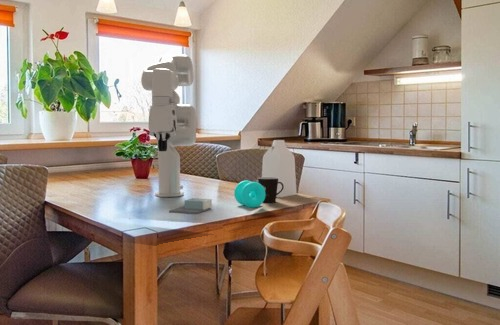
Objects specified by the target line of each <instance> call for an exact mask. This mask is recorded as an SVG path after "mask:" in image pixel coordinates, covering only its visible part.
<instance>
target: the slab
mask: <svg viewBox="0 0 500 325" xmlns="http://www.w3.org/2000/svg"><path fill="white" fill-rule="evenodd" d="M184 206H185V209H202V210H205V209H208V208H213V207H212V206H213V202H212V198H194V197H193V198H188V199H185V200H184Z"/></svg>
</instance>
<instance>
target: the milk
mask: <svg viewBox="0 0 500 325" xmlns="http://www.w3.org/2000/svg"><path fill="white" fill-rule="evenodd" d="M295 161H296V159H295V155H294V153H292V151H291V150H290V149H289V148H288V147H287V146H286V141H285V139H274V140H272V144H271V146H270V148H269V149H268V150H267V151H266V152H265V153H264V154H263V156H262V162H261V163H262V166H261V168H262V169H261V178H262V177H273V178H278V182H281V183H283V186H284V188H283V190H282V191H281V189H282V185H281V184H280V183H278V186H277V193H278V192H279V191H281V192H280V193H279V194H278V195H276V198H279V197H281V198H285V197H291V196H296V195H297V178H296V175H297V174H296V162H295ZM284 196H285V197H284Z"/></svg>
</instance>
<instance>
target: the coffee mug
mask: <svg viewBox="0 0 500 325" xmlns="http://www.w3.org/2000/svg"><path fill="white" fill-rule="evenodd" d="M257 180H258V183H259V184H261V185H262V186H263V188H264V190H265V199H264V201H263V203H264V204H266V203H267V204H271V203H276V201H277V197H276V195H278V194H279V193H280V192H281V191H282V190H283V188H284V186H283V183H281V182H278V178H273V177H262V176H261V177H257ZM278 183H280V184H281V185H282V189H281V191H279V192H278V193H277V186H278ZM263 203H262V204H263Z"/></svg>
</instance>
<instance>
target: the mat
mask: <svg viewBox="0 0 500 325" xmlns="http://www.w3.org/2000/svg"><path fill="white" fill-rule="evenodd" d="M211 208H212V207H210V208H208V209H205V210H202V209H185V205H183V206H180V207H177V208H174V209H170V210H169V211H168V213H175V214H177V213H179V214H193V215H194V214H195V215H197V214H201V213H203V212H207V211H209V210H211Z"/></svg>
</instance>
